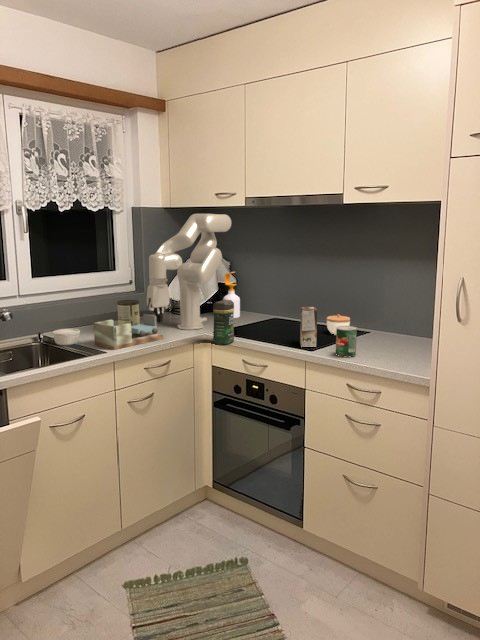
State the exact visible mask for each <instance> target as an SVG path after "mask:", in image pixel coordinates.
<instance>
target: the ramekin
mask: <svg viewBox="0 0 480 640" xmlns="http://www.w3.org/2000/svg"><path fill="white" fill-rule="evenodd" d="M80 334H81V331H80V329H78V328H60V329H55V330H53V331H52V335H53V339H54V343H55V344H56V345H58V346H59V345H60V346H71V345H75V344H77V343H79V340H80ZM74 343H75V344H74Z"/></svg>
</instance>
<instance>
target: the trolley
mask: <svg viewBox="0 0 480 640" xmlns="http://www.w3.org/2000/svg"><path fill="white" fill-rule="evenodd" d="M142 319H143V323H140V325H135V326H131V332H132V333H137V334H139V335H140V336H144V335H145V333H146V332H149V333H153V334H157V333H159V331H158V330H159V329H158V328H157V327H158V326H157V325H158V324H157V323H158V322H156V316H155V315H154V314H147V313H143V315H142Z"/></svg>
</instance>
